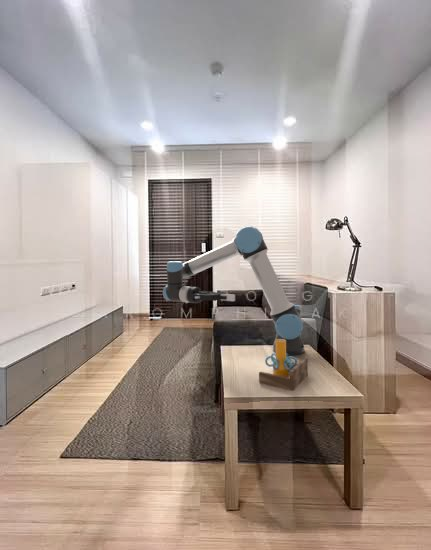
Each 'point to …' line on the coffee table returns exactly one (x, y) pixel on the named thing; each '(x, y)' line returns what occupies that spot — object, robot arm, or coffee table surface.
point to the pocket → (292, 382)
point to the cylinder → (281, 359)
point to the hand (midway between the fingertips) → (234, 297)
